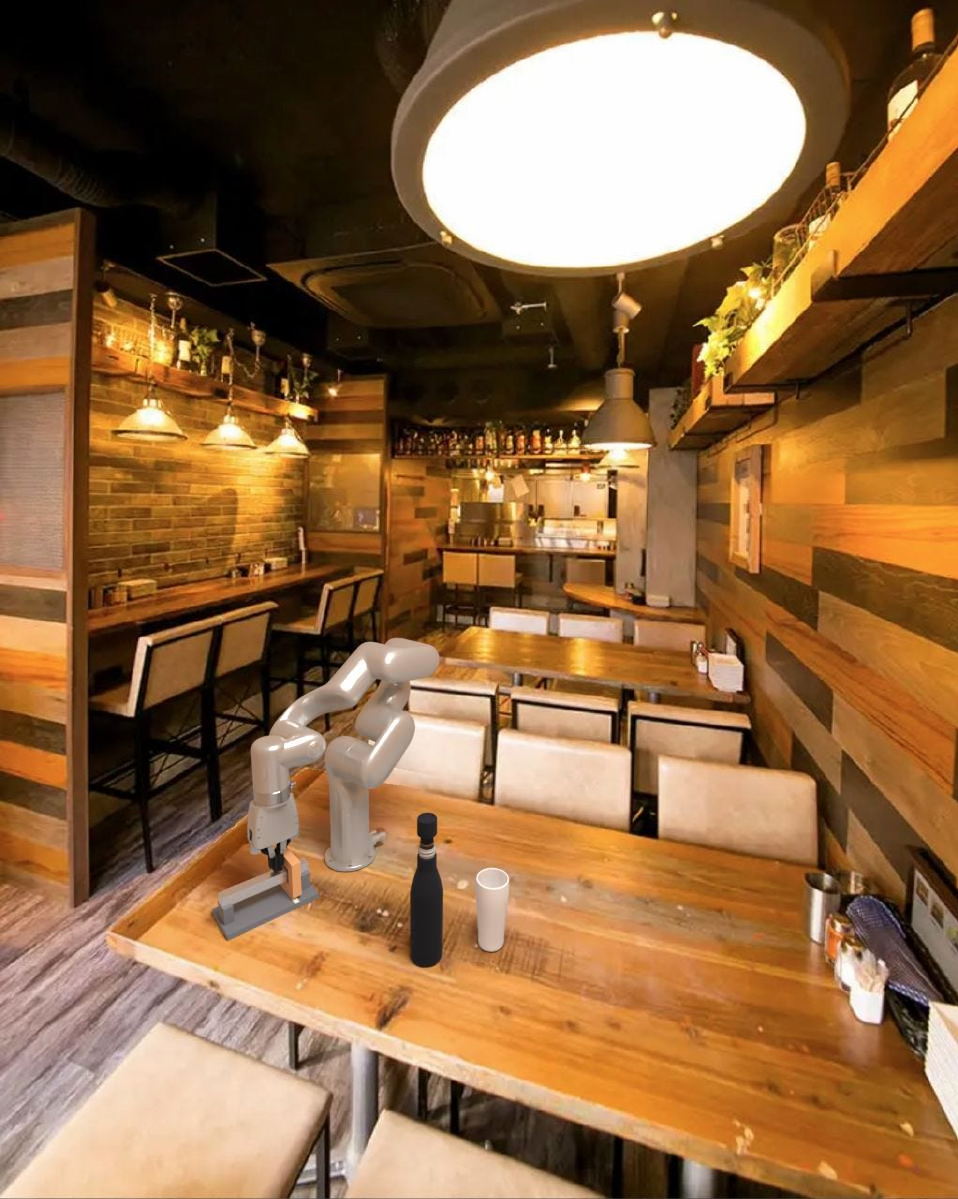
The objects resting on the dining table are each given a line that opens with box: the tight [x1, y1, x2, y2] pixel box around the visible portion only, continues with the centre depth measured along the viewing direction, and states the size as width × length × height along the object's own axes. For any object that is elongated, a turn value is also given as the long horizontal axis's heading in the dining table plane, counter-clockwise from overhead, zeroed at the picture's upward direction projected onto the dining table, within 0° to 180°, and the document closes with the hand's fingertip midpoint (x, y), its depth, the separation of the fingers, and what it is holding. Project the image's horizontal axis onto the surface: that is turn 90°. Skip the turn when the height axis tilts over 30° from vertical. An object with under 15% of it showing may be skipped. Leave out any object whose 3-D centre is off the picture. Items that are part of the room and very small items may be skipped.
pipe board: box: [211, 871, 320, 941], centre depth 127 cm, size 20×10×5 cm, turn 131°
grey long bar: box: [217, 856, 310, 909], centre depth 127 cm, size 19×3×3 cm, turn 131°
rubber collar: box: [281, 846, 302, 898], centre depth 130 cm, size 2×8×8 cm, turn 41°
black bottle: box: [409, 812, 444, 969], centre depth 112 cm, size 6×6×30 cm
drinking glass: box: [475, 867, 510, 953], centre depth 117 cm, size 7×7×15 cm
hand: (276, 868), depth 128 cm, fingers closed
